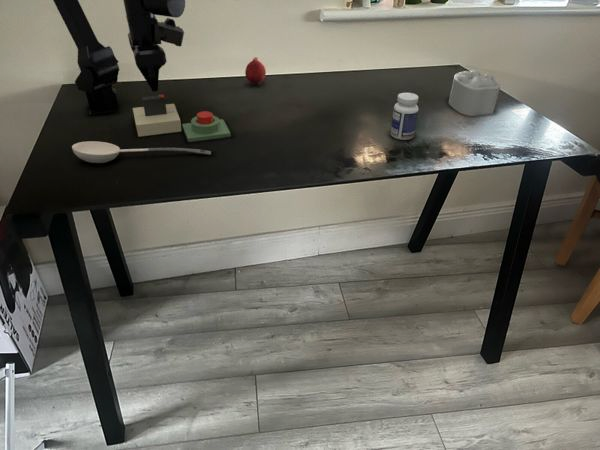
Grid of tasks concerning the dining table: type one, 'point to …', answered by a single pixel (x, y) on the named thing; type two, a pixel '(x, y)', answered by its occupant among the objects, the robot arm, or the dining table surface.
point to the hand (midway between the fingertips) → (152, 84)
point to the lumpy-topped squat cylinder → (474, 93)
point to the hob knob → (154, 105)
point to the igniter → (205, 130)
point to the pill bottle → (404, 116)
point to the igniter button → (205, 117)
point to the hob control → (157, 121)
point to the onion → (255, 71)
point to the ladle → (115, 151)
